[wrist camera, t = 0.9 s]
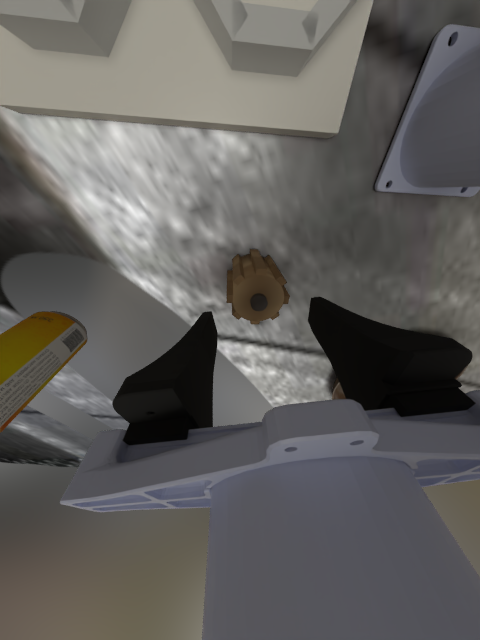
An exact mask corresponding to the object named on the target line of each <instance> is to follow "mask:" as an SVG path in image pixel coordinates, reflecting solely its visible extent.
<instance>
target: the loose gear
mask: <svg viewBox="0 0 480 640" xmlns="http://www.w3.org/2000/svg"><path fill="white" fill-rule="evenodd" d="M232 263H233V270H228V271H227V303H232V315H233V316H234V317H236V318H237V319H240V318H241V317H242V318H244V319H246V320H250V322H251V324H259V322H260V321H263V320H266V319H269V318H271V319H272V320H273V319H275V318H276V317H278V316H279V312H278V311H279V310H280V308H281V307H282V305H283V304H288V301H289V297H290V295H289V294H288V292H287V290H286V289H285V287H284V284H286V283H287V282H286V280H285V279H284V277H283V275H282V274H281V272H280V271H279V269H278V267H277V266H276V264H275V263H274V261H273V260H272V258H271V257H270V256H269V255H268V256H267V257H266V258H264V257H262V256H261V255H260V253H259V251H258V250H257V249H250V254H247V255H244V256H242V257H240V256H239V255H238V254H237V255H236V256H235V257H234V258H233V259H232Z"/></svg>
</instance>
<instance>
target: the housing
mask: <svg viewBox="0 0 480 640" xmlns="http://www.w3.org/2000/svg"><path fill="white" fill-rule="evenodd" d="M372 4H373V0H0V106H2V107H5V108H8V109H10V110H13V111H16V112H18V113H23V114H35V115H48V116H60V117H72V118H84V119H96V120H108V121H120V122H132V123H144V124H156V125H168V126H181V127H193V128H205V129H217V130H229V131H241V132H253V133H265V134H277V135H289V136H301V137H314V138H326V139H329V138H331V137H332V136H334V135H336V134H338V132H339V128H340V124H341V120H342V117H343V113H344V109H345V105H346V102H347V98H348V94H349V90H350V87H351V83H352V79H353V75H354V71H355V68H356V64H357V60H358V56H359V53H360V49H361V45H362V41H363V38H364V34H365V30H366V26H367V23H368V19H369V15H370V11H371V8H372Z"/></svg>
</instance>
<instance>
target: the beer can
mask: <svg viewBox="0 0 480 640" xmlns="http://www.w3.org/2000/svg"><path fill="white" fill-rule="evenodd" d="M86 342H87V332H86V329H85V327H84V326H83V325H82V324H81V323H80V322H79V321H78V320H77V319H75V318H73V317H72V316H69V315H67V314H65V313H61V312H53V311H52V312H37V313H35V314H33V315H31V316H30V317H28V318H27V319H25V320H23V321H21V322H20V323H18V324H17V325H15V326H13V327H12V328H10V329H9V330H7V331H5V332H4V333H2V334H1V335H0V433H1V432H2V431H3V430H4V429H5V427H6V426H7V425H8V424H9V423H10V422H11V421H12V420H13V419H14V418H15V417H16V416H17V415H18V414H19V413H20V412H21V411H22V410H23V409H24V408H25V407H26V406H27V404H28V403H29V402H30V401H31V400H32V399H33V398H34V397H35V396H36V395H37V394H38V393H39V392H40V391H41V390H42V389H43V388H44V387H45V386H46V385H47V384H48V382H49V381H50V380H51V379H52V378H53V377H54V376H55V375H56V374H57V373H58V372H59V371H60V370H61V369H62V368H63V367H64V366H65V365H66V364H67V363H68V361H69V360H70V359H71V358H72V357H73V356H74V355H75V354H76V353H77V352H78V351H79V350H80V349H81V348H82V347H83V346H84V345H85V344H86Z"/></svg>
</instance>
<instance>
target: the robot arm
mask: <svg viewBox="0 0 480 640" xmlns="http://www.w3.org/2000/svg"><path fill="white" fill-rule="evenodd" d="M450 37H451V39H452V41H451V44H450V46H448V41H449V38H450ZM388 181H389V185H388V187H386V184H387V182H388ZM462 188H463V189H462ZM461 189H462V190H461ZM375 190H376V191H379V192H395V193H411V194H427V195H443V196H458V197H472V196H474V195H475V194H476V193H477V192H478V191H479V190H480V28H477V27H469V26H462V25H455V24H449V25H447V26H445V27H444V28H443V29H441V30H440V31H439V32H438V33H437V35H436V36H435V38H434V40H433V42H432V44H431V47H430V49H429V52H428V54H427V57H426V59H425V61H424V64H423V66H422V69H421V71H420V74H419V76H418V79H417V81H416V84H415V86H414V89H413V91H412V94H411V96H410V99H409V101H408V104H407V106H406V109H405V111H404V114H403V116H402V119H401V121H400V124H399V126H398V129H397V131H396V134H395V136H394V139H393V141H392V143H391V146H390V148H389V151H388V153H387V156H386V158H385V161H384V163H383V166H382V168H381V171H380V173H379V176H378V178H377V181H376V183H375ZM308 322H309V324H310V327H311V329H312V332H313V333H314V335H315V337H316V339H317V340H318V342H319V344H320V345H321V347H322V348H323V350H324V352H325V353H326V355H327V357H328V359H329V360H330V362H331V364H332V367H333V369H334V371H335V373H336V376H337V378H338V380H339V383H340V385H341V387H342V390H343V392H344V395H345V398H346V399H335V400H325V401H316V402H307V403H298V404H289V405H283V406H279V407H275V408H273V409H271V410H269V411H268V412H266V413H265V415H264V417H263V419H262V422H256V423H247V424H237V425H228V426H218V427H213V417H212V416H213V413H212V412H213V411H212V410H213V408H212V406H213V402H212V400H213V372H214V364H215V357H216V350H217V329H216V326H215V322H214V318H213V315H212V311H210V312H203V313H202V315H201V316H200V317H199V319H198V320H197V321H196V322H195V324H194V325H193V326H192V328H191V329H190V330H189V331H188V332H187V334H185V336H184V337H183V338H182V339H181V340H180V341H179V342H178V343H177V344H176V345H174V346H173V347H172V348H171V349H170V350H169V351H167V352H166V353H165V354H163V355H162V356H161V357H160V358H158V359H157V360H155V361H154V362H152V363H151V364H149V365H148V366H146V367H145V368H143V369H141V370H139V371H138V372H136V373H135V374H132V375H131V376H129V377H127V378H126V379H125V381H124V382H123V384H122V386H121V388H120V390H119V391H118V393H117V395H116V397H115V399H114V400H113V408H114V409H115V411H116V412H117V413H118V414H119V415H121V416H122V417H123V418H124V419H125V420H126V421H128V422H129V423H130V424H129V427H128V429H127V431H126V430H123V429H116V430H107V431H100V432H98V433H97V435H96V437H95V438H94V440H93V442H92V444H91V446H90V447H89V449H88V451H87V453H86V455H85V457H84V458H83V460H82V462H81V464H80V466H79V467H78V470H77V471H76V473H75V475H74V476H73V478H72V480H71V482H70V484H69V486H68V487H67V489H66V491H65V493H64V495H63V496H62V498H61V500H60V504H63V505H68V506H72V507H77V508H82V509H86V510H91V511H95V512H110V511H124V510H143V509H170V508H171V509H172V508H201V507H203V508H204V507H205V508H206V507H210V521H209V536H208V552H207V554H208V555H207V568H206V584H205V601H204V616H203V632H202V640H480V577H479V575H478V574H477V572H476V571H475V569H474V568H473V566H472V565H471V563H470V561H469V560H468V558H467V557H466V555H465V554H464V552H463V551H462V549H461V548H460V546H459V545H458V543H457V541H456V540H455V538H454V537H453V535H452V534H451V532H450V531H449V529H448V528H447V526H446V524H445V523H444V521H443V520H442V518H441V517H440V515H439V514H438V512H437V510H436V509H435V507H434V506H433V504H432V503H431V501H430V500H429V499H428V497H427V495H426V494H425V492H424V491H423V489H422V487H428V486H435V485H442V484H449V483H455V482H463V481H471V480H478V479H480V390H475V391H470V392H468V393H466V394H465V393H464V392H462V391H461V390H460V389H459V388H458V387H461V386H462V385H461V383H460V382H458V381H457V380H456V379H455V377H456V376H457V375H458V374H459V373H460V372H461V371H462V370H463V369H464V368H465V367H467V365H468V364H469V363H470V362H471V359H472V352H471V351H470V350H469V349H467V348H466V347H464V346H463V345H461V344H460V343H458V342H457V341H455V340H454V339H452V338H446V337H440V336H434V335H428V334H422V333H418V332H413V331H408V330H404V329H400V328H396V327H392V326H389V325H385V324H382V323H379V322H376V321H373V320H370V319H367V318H365V317H362V316H360V315H357V314H355V313H353V312H351V311H348V310H346V309H344V308H342V307H340V306H338V305H336V304H334V303H332V302H330V301H328V300H326V299H324V298H322V297H314V298H311V303H310V310H309V317H308Z"/></svg>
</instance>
